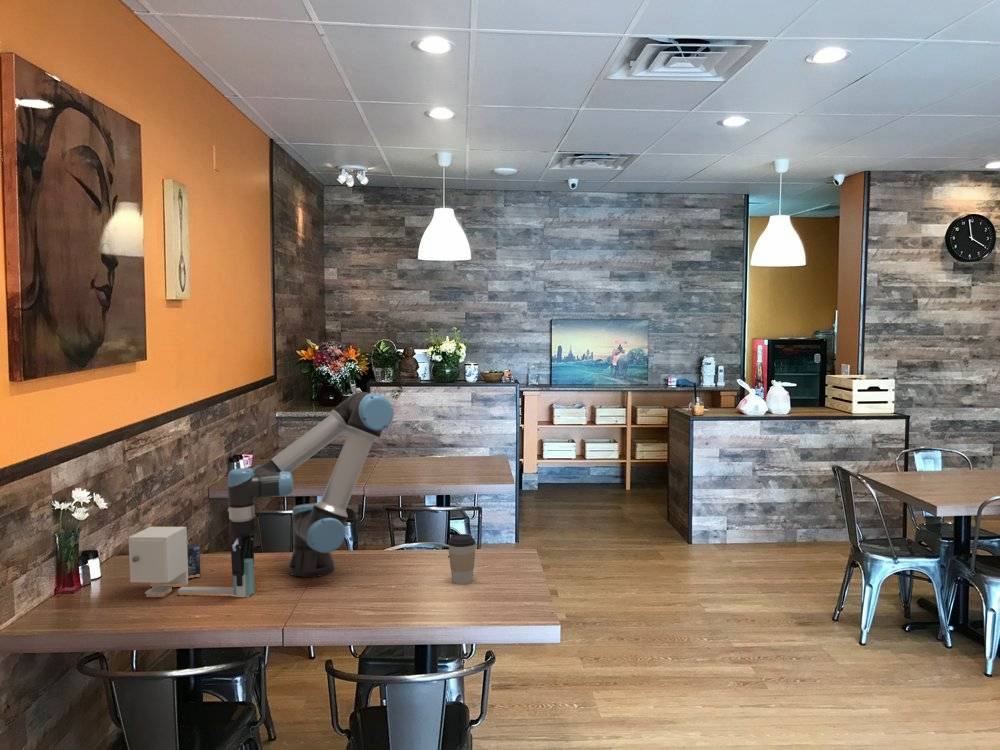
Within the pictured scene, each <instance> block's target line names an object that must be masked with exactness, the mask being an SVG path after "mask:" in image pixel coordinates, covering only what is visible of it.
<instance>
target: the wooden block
mask: <svg viewBox="0 0 1000 750" xmlns="http://www.w3.org/2000/svg"><path fill="white" fill-rule="evenodd" d="M172 587H173V586H153V587H152V588H150V587H149V589H147V590H146V591H145V592H144V595H145V594H146V595H151V594H155V595H158V594H160V595H161V594H163V595H164V594H165V593H166V592H167V591H169V590H170V589H171V588H172Z"/></svg>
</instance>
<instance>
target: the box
mask: <svg viewBox="0 0 1000 750" xmlns="http://www.w3.org/2000/svg"><path fill="white" fill-rule="evenodd" d="M200 551H201V547H200V546H199V545H197V544H194V543H190V544H187V554H188V576H190V575H196V574H200V575H201V552H200Z"/></svg>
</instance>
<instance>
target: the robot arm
mask: <svg viewBox="0 0 1000 750" xmlns="http://www.w3.org/2000/svg"><path fill="white" fill-rule="evenodd" d="M393 418H394V408H393V406H392V403H391V401H390V400H389V399H387V397H385V396H384V395H381V394H379V393H376V392H375V393H374V392H373V393H371V392H367V391H359V392H357V393H353V394H352V395H350V396H348V397H347V398H346V399H345V400H343V401H342V402H341V403H339V404H338V405H337V406H336V407H334V408H333V409H331V412H330V414H329V415H328V416H327V417H326V418H324V419H323V420H322V421H320V422H319V423H318V424H317V425H315V426H314V427H312V428H311V429H309V430H308V431H307V432H306V433H304V434H303V435H302V436H300V437H298V438H297V439H296V440H295V441H293V442H292V443H291V444H290V445H288V446H286V447H285V448H284V449H283V450H282V451H281V450H280V452H278V454H276V455H275V456H274V457H272V458H271V459H270V460H268V461H267V462H265V463H263V464H259V465H257V466H255V467H254V468H253V469H252V468H249V467H246V468H235V469H231V470H229V472H228V474H227V493H228V494H227V497H228V508H227V512H228V519H229V522H228V526H229V527H228V529H229V530H228V531H229V533H230V534H234V537H233V538H234V539H233V544H230V545H229V548H230V556H231V557H230V559H231V560H230V561H231V574H232V577H233V576H236V596H246V585H245V575H244V559H253V561H254V562H255V545H254V544H255V534H253V533H252V532H254V531H255V529H256V527H255V526H256V521H255V518H254V517H255V499H263V498H271V497H272V498H273V497H283V496H287V495H289V496H290V495H291V494H292V493H293V491H294V478H293V475H292V472H293V471H294V470H296V469H298V468H299V467H300V466H301V465H303V464H304V463H305V462H306V461H308V460H309V459H311V457H313V456H314V455H316V454H317V453H318V452H320V451H321V450H323V449H324V448H325V447H326V446H328V445H329V444H330V443H331V442H333V441H335V440H336V439H337V438H338V437H340V436H341V435H342V434H344V433H347V436H346V438H345V441H344V443H343V446H342V448H341V451H340V452H339V456H338V458H337V460H336V463H335V465H334V467H333V470H332V473H331V475H330V477H329V481H328V482H327V485H326V488H325V489H324V492H323V495H322V497H321V500H319V501H318V502H316V503H315V502H314V503H305V504H304V503H303V504H297V505H295V506H294V507H293V508H292V514H291V518H292V540H293V541H292V542H293V544H292V545H293V546H292V547H293V550H292V554H291V558H290V559H289V560H290V561H289V563H288V574H289V573H290V574H293V575H295V576H294V577H296V576H302V577H301V578H313V576H316V577H320V576H319V575H322V576H325V575H324V574H326V575H328V574H330V572H331V573H332V572H334V570H335V561H334V558H333V556H332V552H334V551H336V550H337V549H338V548H340V547H341V545H342V544H344V543H343V542H344V541H345V539H346V528H345V525H346V522H347V521H348V517H349V516H348V513H347V507H348V506H349V503H350V500H351V497H352V495H353V492H354V490H355V488H356V485H357V483H358V479H359V477H360V476H361V472H362V471H363V470H362V469H363V467H364V465H365V462H366V460H367V457H368V455H369V453H370V451H371V448H372V445H373V443H374V442H375V441H377V440H380V437H381V435H382V433H383V430H384V429H386V428H387V427H389V426H390V424H391V423H392V421H393ZM290 574H289V575H290Z"/></svg>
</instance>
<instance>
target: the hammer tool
mask: <svg viewBox="0 0 1000 750" xmlns="http://www.w3.org/2000/svg"><path fill="white" fill-rule="evenodd" d="M244 575H245V585H246V595H247V596H250V595H251V594H252V593H253V592H254V593H255V560H254V561H253V559H244ZM232 581H233V584H232V585H233V586H189V587H181V588H177V594H178V593H209V594H234V595H236V576H233V575H232Z"/></svg>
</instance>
